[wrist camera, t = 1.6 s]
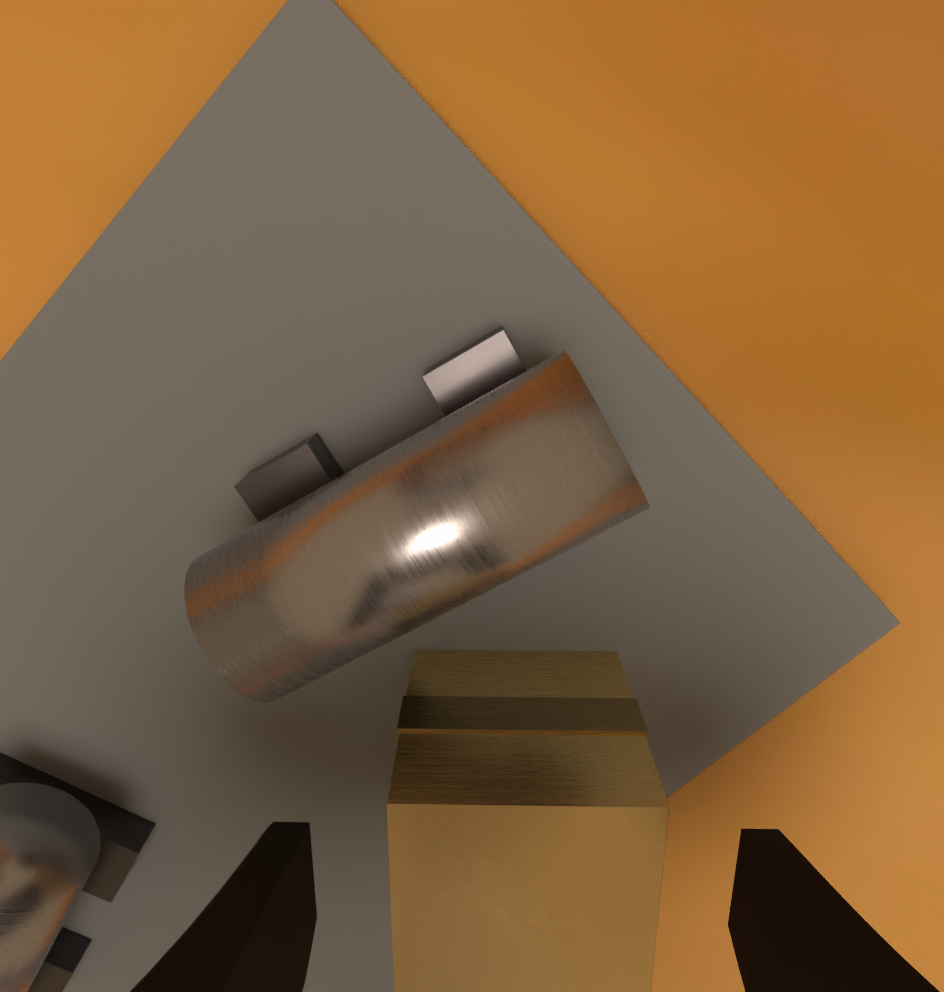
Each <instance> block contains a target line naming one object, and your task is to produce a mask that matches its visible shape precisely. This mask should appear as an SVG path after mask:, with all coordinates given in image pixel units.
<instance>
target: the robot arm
mask: <svg viewBox="0 0 944 992" xmlns="http://www.w3.org/2000/svg"><path fill="white" fill-rule="evenodd" d="M316 921H317V909H316V896H315V884H314V871H313V859H312V846H311V834H310V822H273V823H272V824H270V825H269V826H268V827H267V828H266V830H265V831H264V832H263V834H262V835H261V837H260V838H259V839H258V841H257V842H256V843H255V845H254V846H253V847H252V849H251V850H250V851H249V853H248V854H247V855H246V857H245V858H244V859H243V861H242V862H241V863H240V865H239V866H238V867H237V869H236V870H235V871H234V872H233V874H232V875H231V876H230V877H229V879H228V880H227V881H226V883H225V884H224V885H223V886H222V888H221V889H220V890H219V891H218V893H217V894H216V895H215V896H214V897H213V899H212V900H211V901H210V902H209V903H208V905H207V906H206V907H205V908H204V909H203V911H202V912H201V913H200V914H199V915H198V917H197V918H196V919H195V920H194V922H193V923H192V924H191V925H190V926H189V927H188V929H187V930H186V931H185V932H184V933H183V934H182V935H181V937H180V938H179V939H178V940H177V941H176V942H175V943H174V944H173V945H172V947H171V948H170V949H169V950H168V951H167V952H166V953H165V954H164V955H163V956H162V958H161V959H160V960H159V961H158V962H157V963H156V964H155V965H154V966H153V967H152V969H151V970H150V971H149V972H148V973H147V974H146V975H145V976H144V977H143V978H142V979H141V980H140V981H139V982H138V983H137V984H136V985H135V987H134V988H133V989H132V990H131V991H130V992H302V991H303V988H304V984H305V980H306V975H307V969H308V964H309V959H310V954H311V949H312V943H313V938H314V932H315V927H316ZM728 927H729V931H730V935H731V939H732V943H733V947H734V951H735V955H736V959H737V962H738V966H739V970H740V973H741V977H742V981H743V984H744V988H745V992H939V991H938V990H937V989H936V988H935V987H934V986H933V985H932V984H931V983H930V982H929V981H927V980H926V979H925V978H924V977H923V976H922V975H921V974H920V973H919V972H918V971H917V970H915V969H914V968H913V967H912V966H911V965H910V964H909V963H908V962H907V961H906V960H905V959H904V958H903V957H902V956H901V955H899V954H898V953H897V952H896V951H895V950H894V949H893V948H892V947H891V946H890V945H889V944H888V943H887V942H886V941H885V940H884V939H883V938H882V937H881V936H880V935H879V934H878V933H877V932H876V931H875V930H874V929H873V928H872V927H871V926H870V925H869V924H868V923H867V922H866V921H865V920H864V919H863V918H862V917H861V916H860V915H859V914H858V913H857V912H856V911H855V910H854V909H853V908H852V907H851V906H850V905H849V903H848V902H847V901H846V900H845V899H844V898H843V897H842V896H841V895H840V894H839V893H838V892H837V891H836V890H835V889H834V888H833V887H832V886H831V885H830V884H829V882H828V881H827V880H826V879H825V878H824V877H823V876H822V875H821V874H820V873H819V872H818V871H817V870H816V869H815V868H814V867H813V865H812V864H811V863H810V862H809V861H808V860H807V859H806V858H805V857H804V856H803V855H802V854H801V853H800V852H799V850H798V849H797V848H796V847H795V846H794V845H793V844H792V843H791V842H790V841H789V840H788V839H787V838H786V837H785V836H784V835H783V834H782V832H781V831H780V830H779V829H741V836H740V843H739V850H738V857H737V864H736V871H735V878H734V885H733V892H732V899H731V906H730V913H729V921H728Z"/></svg>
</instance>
